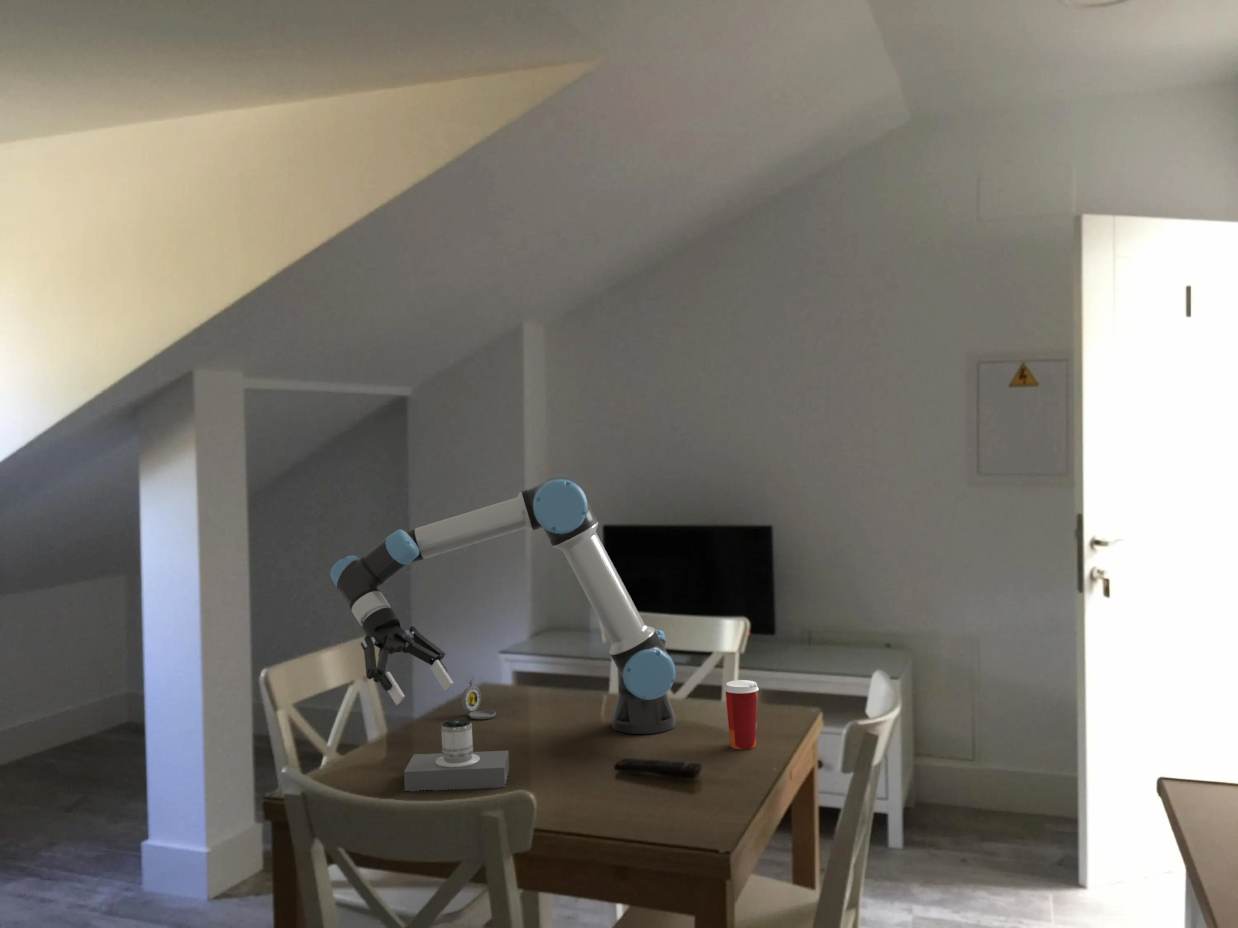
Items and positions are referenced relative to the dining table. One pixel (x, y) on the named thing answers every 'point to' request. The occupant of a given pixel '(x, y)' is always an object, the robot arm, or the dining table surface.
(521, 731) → the dining table surface
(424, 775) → the box with white oval
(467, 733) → the camera lens
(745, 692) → the paper cup
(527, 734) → the dining table surface
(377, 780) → the dining table surface
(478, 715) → the pocket watch
